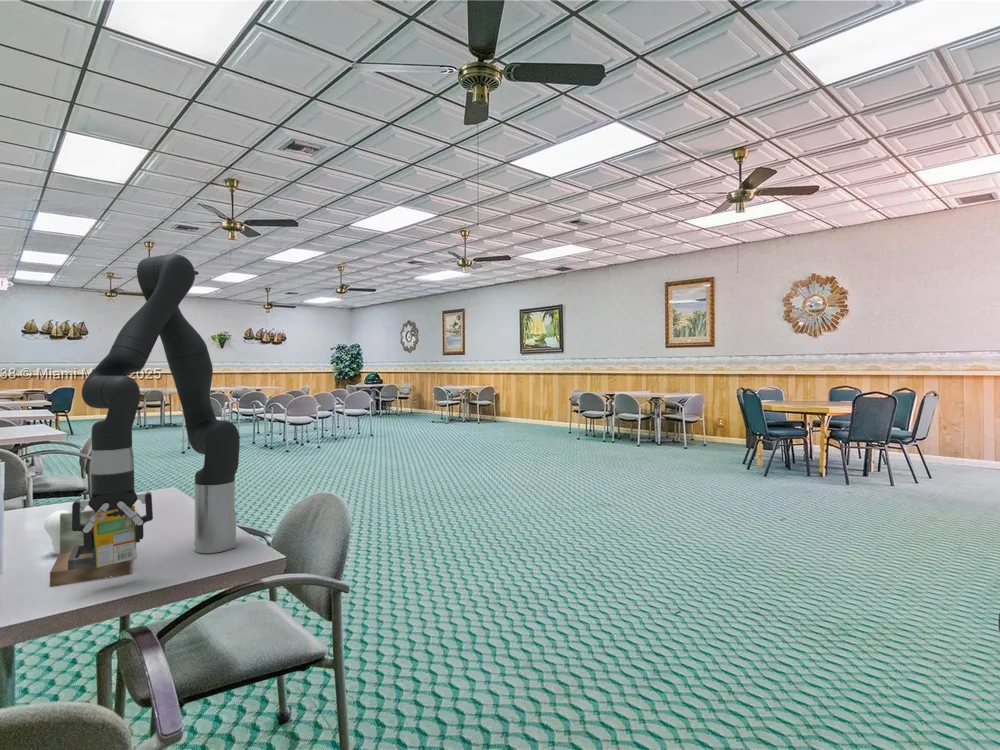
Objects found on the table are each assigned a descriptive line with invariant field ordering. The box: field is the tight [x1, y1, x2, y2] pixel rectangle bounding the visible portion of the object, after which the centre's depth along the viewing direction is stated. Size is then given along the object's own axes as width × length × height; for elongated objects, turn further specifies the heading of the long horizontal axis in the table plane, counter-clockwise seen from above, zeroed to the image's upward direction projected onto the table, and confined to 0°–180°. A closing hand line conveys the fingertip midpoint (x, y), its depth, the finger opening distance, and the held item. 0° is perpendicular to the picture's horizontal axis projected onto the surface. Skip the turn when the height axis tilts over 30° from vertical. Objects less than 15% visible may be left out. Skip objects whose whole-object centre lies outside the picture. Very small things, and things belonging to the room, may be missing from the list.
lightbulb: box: [43, 509, 70, 556], centre depth 135 cm, size 6×6×11 cm
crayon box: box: [92, 505, 138, 568], centre depth 116 cm, size 7×3×12 cm, turn 140°
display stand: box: [49, 509, 132, 588], centre depth 126 cm, size 14×16×12 cm
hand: (114, 545), depth 116 cm, fingers closed on crayon box, 8 cm apart
